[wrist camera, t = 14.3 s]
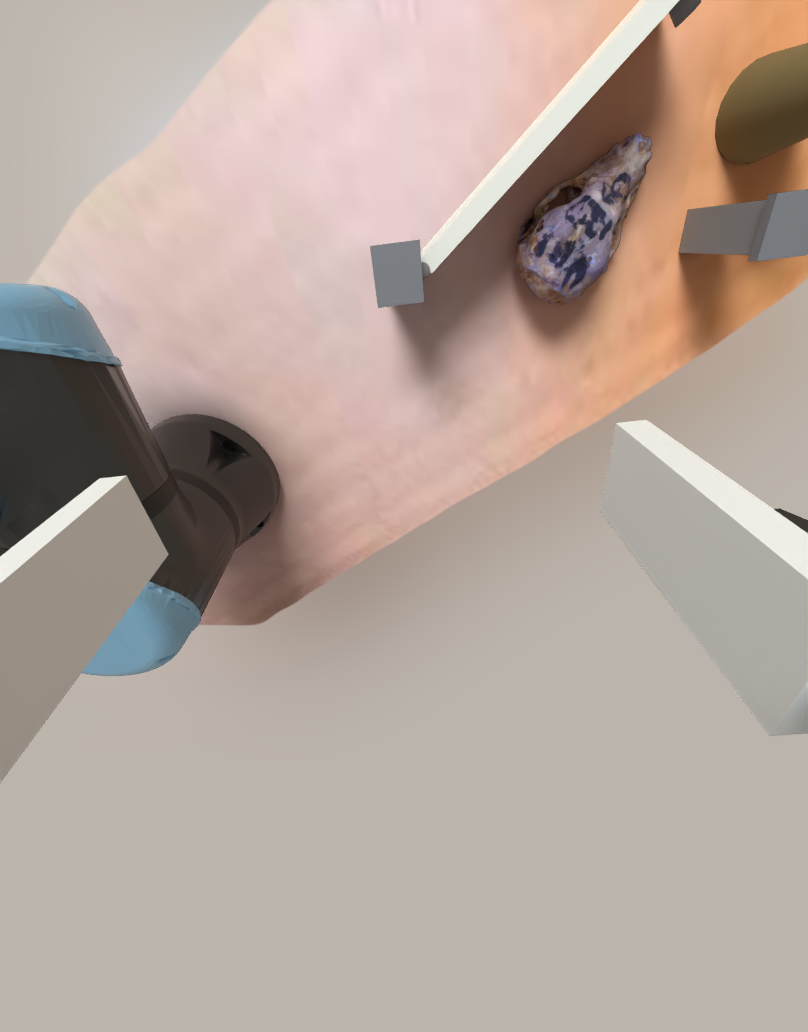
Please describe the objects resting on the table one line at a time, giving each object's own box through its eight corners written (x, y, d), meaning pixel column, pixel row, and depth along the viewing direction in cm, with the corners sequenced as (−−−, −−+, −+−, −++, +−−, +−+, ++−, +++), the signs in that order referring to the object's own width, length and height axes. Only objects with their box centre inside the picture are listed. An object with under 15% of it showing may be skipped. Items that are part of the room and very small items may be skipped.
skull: (614, 112, 31) (658, 85, 26) (665, 200, 34) (714, 192, 29) (491, 252, 36) (507, 254, 30) (545, 319, 38) (568, 330, 33)
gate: (427, 287, 37) (434, 296, 30) (409, 264, 36) (411, 269, 29) (669, 23, 28) (751, -43, 22) (652, -15, 27) (733, -97, 21)
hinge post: (382, 293, 37) (378, 307, 29) (376, 245, 35) (370, 246, 27) (418, 289, 37) (424, 302, 29) (414, 240, 35) (419, 239, 27)
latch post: (674, 257, 36) (756, 261, 28) (685, 205, 34) (777, 193, 26) (712, 252, 36) (807, 255, 27) (725, 200, 34) (832, 185, 25)
